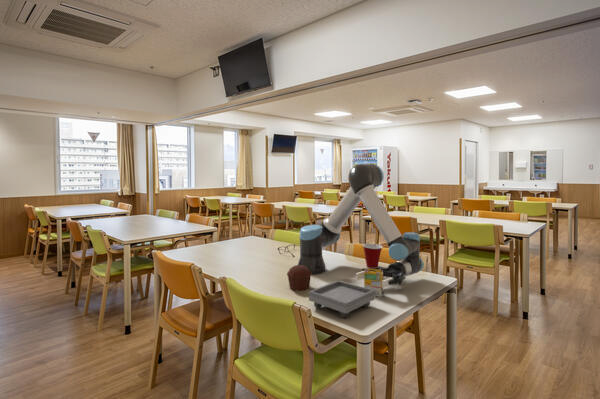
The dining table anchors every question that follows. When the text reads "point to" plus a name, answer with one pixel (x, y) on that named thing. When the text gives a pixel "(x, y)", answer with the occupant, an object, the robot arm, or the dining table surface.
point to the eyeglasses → (287, 248)
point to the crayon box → (373, 280)
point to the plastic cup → (372, 254)
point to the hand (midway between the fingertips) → (369, 280)
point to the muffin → (299, 278)
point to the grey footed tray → (342, 297)
